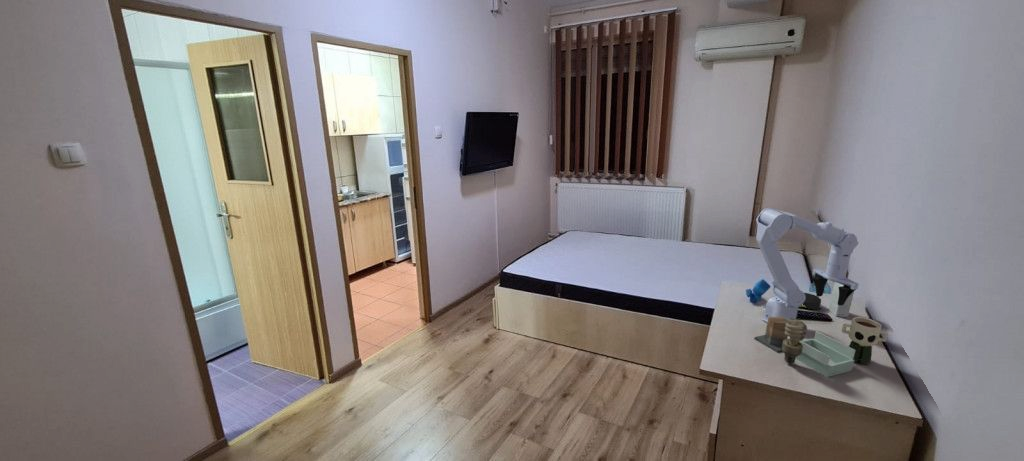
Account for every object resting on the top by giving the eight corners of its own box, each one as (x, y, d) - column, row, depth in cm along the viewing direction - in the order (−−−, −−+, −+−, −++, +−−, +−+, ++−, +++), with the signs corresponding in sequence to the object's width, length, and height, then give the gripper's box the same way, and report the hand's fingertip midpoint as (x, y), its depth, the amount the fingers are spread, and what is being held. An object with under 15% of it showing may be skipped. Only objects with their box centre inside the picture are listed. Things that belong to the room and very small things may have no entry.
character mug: (836, 359, 135) (845, 322, 131) (835, 349, 140) (843, 313, 137) (881, 370, 129) (892, 332, 125) (878, 359, 135) (888, 322, 131)
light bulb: (799, 371, 129) (808, 326, 125) (778, 365, 132) (786, 321, 128) (798, 361, 134) (808, 318, 129) (778, 356, 136) (786, 313, 132)
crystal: (742, 286, 172) (753, 272, 179) (741, 304, 176) (752, 290, 183) (763, 292, 167) (773, 277, 174) (761, 310, 170) (771, 295, 177)
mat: (754, 338, 147) (754, 337, 147) (774, 334, 150) (774, 332, 150) (777, 352, 139) (777, 350, 139) (798, 347, 142) (798, 345, 141)
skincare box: (848, 317, 161) (855, 288, 158) (835, 316, 162) (842, 287, 159) (840, 310, 167) (846, 281, 164) (827, 309, 168) (834, 280, 164)
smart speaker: (788, 300, 176) (790, 291, 175) (811, 301, 175) (813, 292, 174) (800, 310, 167) (802, 301, 166) (824, 311, 166) (826, 301, 165)
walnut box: (764, 337, 146) (768, 316, 144) (780, 338, 146) (784, 317, 143) (769, 343, 143) (773, 322, 140) (785, 345, 142) (790, 323, 140)
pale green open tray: (785, 353, 138) (789, 335, 136) (811, 347, 141) (815, 329, 140) (826, 377, 126) (830, 357, 124) (852, 370, 129) (857, 351, 128)
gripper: (868, 270, 144) (859, 307, 147) (825, 256, 157) (818, 290, 161) (853, 273, 141) (844, 310, 145) (811, 258, 155) (804, 293, 159)
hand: (829, 300), depth 153 cm, fingers open, 7 cm apart
